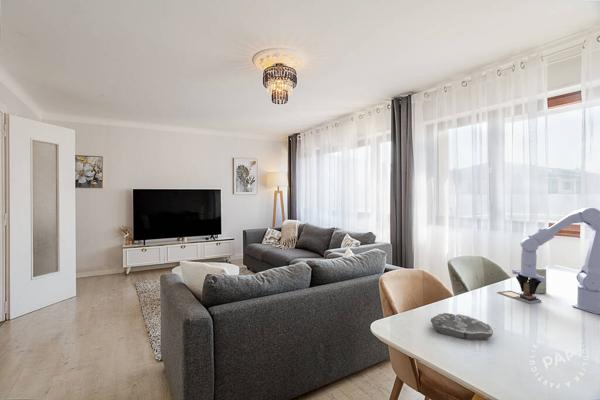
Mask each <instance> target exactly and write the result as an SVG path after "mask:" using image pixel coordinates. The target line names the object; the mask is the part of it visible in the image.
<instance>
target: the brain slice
mask: <svg viewBox="0 0 600 400" xmlns="http://www.w3.org/2000/svg"><path fill="white" fill-rule="evenodd" d="M430 323H431V324H432V327H433V328H434V329H435V331H437V332H438V333H440V334H442V335H444V336H445V335H446V336H450V337H453V338H457V339H465V340H469V341H473V340H474V341H475V340H477V341H486V340H488V339H489V338H491V337H492V335H493V333H494V330H493V329H492V327H491V325H489V323H488V324H487V323H485V322H483V321H482V320H480V319H476V318H474V317H472V316H470V315H469V316H468V315H464V314H459V313H457V314H453V313H447V312H443V313H439V314H437V315H435V316H434V317H431V318H430Z"/></svg>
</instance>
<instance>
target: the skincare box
mask: <svg viewBox="0 0 600 400" xmlns="http://www.w3.org/2000/svg"><path fill="white" fill-rule="evenodd" d="M536 274H538V275H541V276H543V277H546V278H547V269H546V268H542V267H539V266H536ZM528 279H532V278H528ZM536 293H537V294H547V281H546V282H542V281H541V283H540V284H539V285H538V287H537V289H536V292H535V294H536Z"/></svg>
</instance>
